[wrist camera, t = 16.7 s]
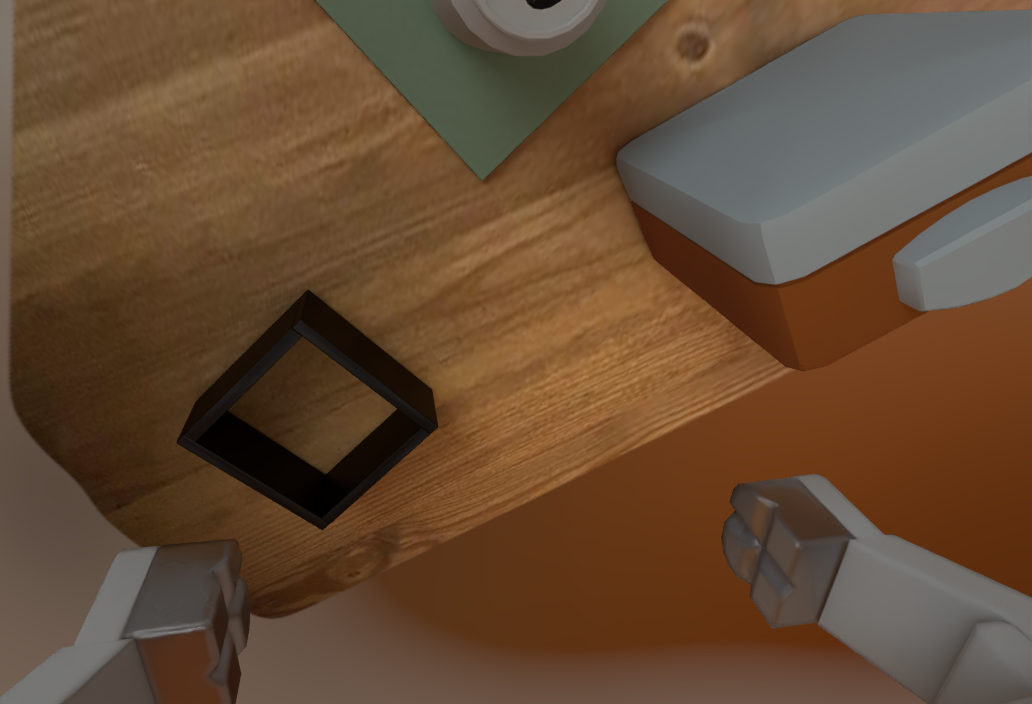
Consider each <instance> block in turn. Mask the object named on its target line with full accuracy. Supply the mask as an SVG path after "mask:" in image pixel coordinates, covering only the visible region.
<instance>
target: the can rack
mask: <svg viewBox="0 0 1032 704" xmlns="http://www.w3.org/2000/svg"><path fill="white" fill-rule="evenodd" d="M302 336H303V337H304V338H306V339H307V340H308V341H310V342H311V343H312V344H313V345H315V346H316V347H317V348H319V349H320V350H321V351H323V352H324V353H325V354H327V355H328V356H329V357H331V358H332V359H333V360H334V361H336V362H337V363H338V364H340V365H341V366H342V367H344V368H345V369H346V370H348V371H349V372H350V373H351V374H353V375H354V376H355V377H357V378H358V379H359V380H361V381H362V382H363V383H365V384H366V385H367V386H369V387H370V388H371V389H372V390H374V391H375V392H376V393H378V394H379V395H380V396H382V397H383V398H384V399H386V400H387V401H388V402H389V403H391V404H392V405H393V406H395V407H396V408H397V410H396V411H395V412H394V413H393V414H392V415H391V416H390V417H388V418H387V419H386V420H385V421H384V422H383V423H382V424H381V425H380V426H379V427H378V428H376V429H375V430H374V431H373V432H372V433H371V434H370V435H369V436H368V437H367V438H366V439H364V440H363V441H362V442H361V443H360V444H359V445H358V446H357V447H356V448H355V449H354V450H352V451H351V452H350V453H349V454H348V455H347V456H346V457H345V458H344V459H343V460H342V461H340V462H339V463H338V464H337V465H336V466H335V467H334V468H333V469H332V470H331V471H330V472H328V473H327V474H326V475H325V474H323V473H322V472H320V471H319V470H317V469H315V468H314V467H312V466H311V465H309V464H308V463H306V462H305V461H303V460H302V459H300V458H299V457H297V456H295V455H294V454H292V453H291V452H289V451H288V450H286V449H285V448H283V447H282V446H280V445H278V444H277V443H275V442H274V441H272V440H271V439H269V438H268V437H266V436H265V435H263V434H262V433H260V432H258V431H257V430H255V429H254V428H252V427H251V426H249V425H248V424H246V423H245V422H243V421H242V420H240V419H238V418H237V417H235V416H234V415H232V414H231V413H229V412H228V411H227V410H228V409H229V408H230V407H231V406H232V405H233V404H234V403H235V402H236V401H237V400H238V399H239V398H240V397H241V396H242V395H243V394H244V393H245V392H246V391H247V390H248V389H249V388H251V387H252V386H253V385H254V384H255V383H256V382H257V381H258V380H259V379H260V378H261V377H262V376H263V375H264V374H265V373H266V372H267V371H268V370H269V369H270V368H271V367H272V366H273V365H274V364H275V363H276V362H277V361H278V360H279V359H280V358H281V357H282V356H283V355H284V354H285V353H286V352H287V351H288V350H289V349H290V348H291V347H292V346H293V345H294V344H295V343H296V342H297V341H298V340H299V339H300V338H301V337H302ZM436 428H438V421H437V415H436V410H435V404H434V398H433V392H432V389H430V388H429V387H428V386H427V385H425V384H424V383H423V382H422V381H420V380H419V379H418V378H417V377H416V376H414V375H413V374H412V373H411V372H409V371H408V370H407V369H406V368H404V367H403V366H402V365H401V364H399V363H398V362H397V361H396V360H395V359H393V358H392V357H391V356H390V355H388V354H387V353H386V352H385V351H383V350H382V349H381V348H380V347H378V346H377V345H376V344H375V343H374V342H372V341H371V340H370V339H369V338H367V337H366V336H365V335H364V334H362V333H361V332H360V331H359V330H357V329H356V328H355V327H354V326H353V325H351V324H350V323H349V322H348V321H346V320H345V319H344V318H343V317H341V316H340V315H339V314H338V313H336V312H335V311H334V310H333V309H332V308H330V307H329V306H328V305H327V304H325V303H324V302H323V301H322V300H320V299H319V298H318V297H317V296H315V295H314V294H313V293H312V292H311V291H309V290H307V291H306V292H305V293H304V294H303V295H302V296H301V297H300V298H299V299H298V300H297V301H296V302H295V303H294V304H293V305H292V306H291V307H290V308H289V309H288V310H287V311H286V312H285V313H284V314H283V315H282V316H281V317H280V318H279V319H278V320H277V321H276V322H275V323H274V324H273V325H272V326H271V327H270V328H269V329H268V330H267V331H266V332H265V333H264V334H263V335H262V336H261V337H260V338H259V339H258V340H257V341H256V342H255V343H254V344H253V345H252V346H251V347H250V348H249V349H248V350H247V351H246V352H245V353H244V354H243V355H242V356H241V357H240V358H239V359H238V360H237V361H236V362H235V363H234V364H233V365H232V366H231V367H230V368H229V369H228V370H227V371H226V372H225V373H224V374H223V375H222V376H221V377H220V378H219V379H218V380H217V381H216V382H215V383H214V384H213V385H212V386H211V387H210V388H209V389H208V390H207V391H206V392H205V393H204V394H203V395H202V396H201V397H200V398H199V399H198V400H197V401H196V402H195V404H194V406H193V408H192V410H191V413H190V415H189V417H188V419H187V421H186V423H185V425H184V427H183V430H182V432H181V434H180V436H179V438H178V440H177V444H179V445H180V446H182V447H184V448H185V449H187V450H189V451H190V452H192V453H194V454H195V455H197V456H199V457H200V458H202V459H204V460H205V461H207V462H209V463H210V464H212V465H214V466H215V467H217V468H219V469H220V470H222V471H224V472H226V473H227V474H229V475H231V476H232V477H234V478H236V479H237V480H239V481H241V482H242V483H244V484H246V485H247V486H249V487H251V488H252V489H254V490H256V491H257V492H259V493H261V494H262V495H264V496H266V497H267V498H269V499H271V500H272V501H274V502H276V503H278V504H279V505H281V506H283V507H284V508H286V509H288V510H289V511H291V512H293V513H294V514H296V515H298V516H299V517H301V518H303V519H304V520H306V521H308V522H309V523H311V524H313V525H314V526H316V527H318V528H319V529H321V530H323V529H325V528H326V527H327V526H328V525H329V524H331V523H332V522H333V521H334V520H335V519H336V518H337V517H338V516H340V515H341V514H342V513H343V512H344V511H345V510H346V509H347V508H348V507H350V506H351V505H352V504H353V503H354V502H355V501H356V500H357V499H359V498H360V497H361V496H362V495H363V494H364V493H365V492H366V491H367V490H369V489H370V488H371V487H372V486H373V485H374V484H375V483H376V482H377V481H379V480H380V479H381V478H382V477H383V476H384V475H385V474H386V473H388V472H389V471H390V470H391V469H392V468H393V467H394V466H395V465H396V464H398V463H399V462H400V461H401V460H402V459H403V458H404V457H405V456H407V455H408V454H409V453H410V452H411V451H412V450H413V449H414V448H415V447H417V446H418V445H419V444H420V443H421V442H422V441H423V440H424V439H426V438H427V437H428V436H429V435H430V434H431V433H432V432H433V431H434V430H435V429H436Z"/></svg>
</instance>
